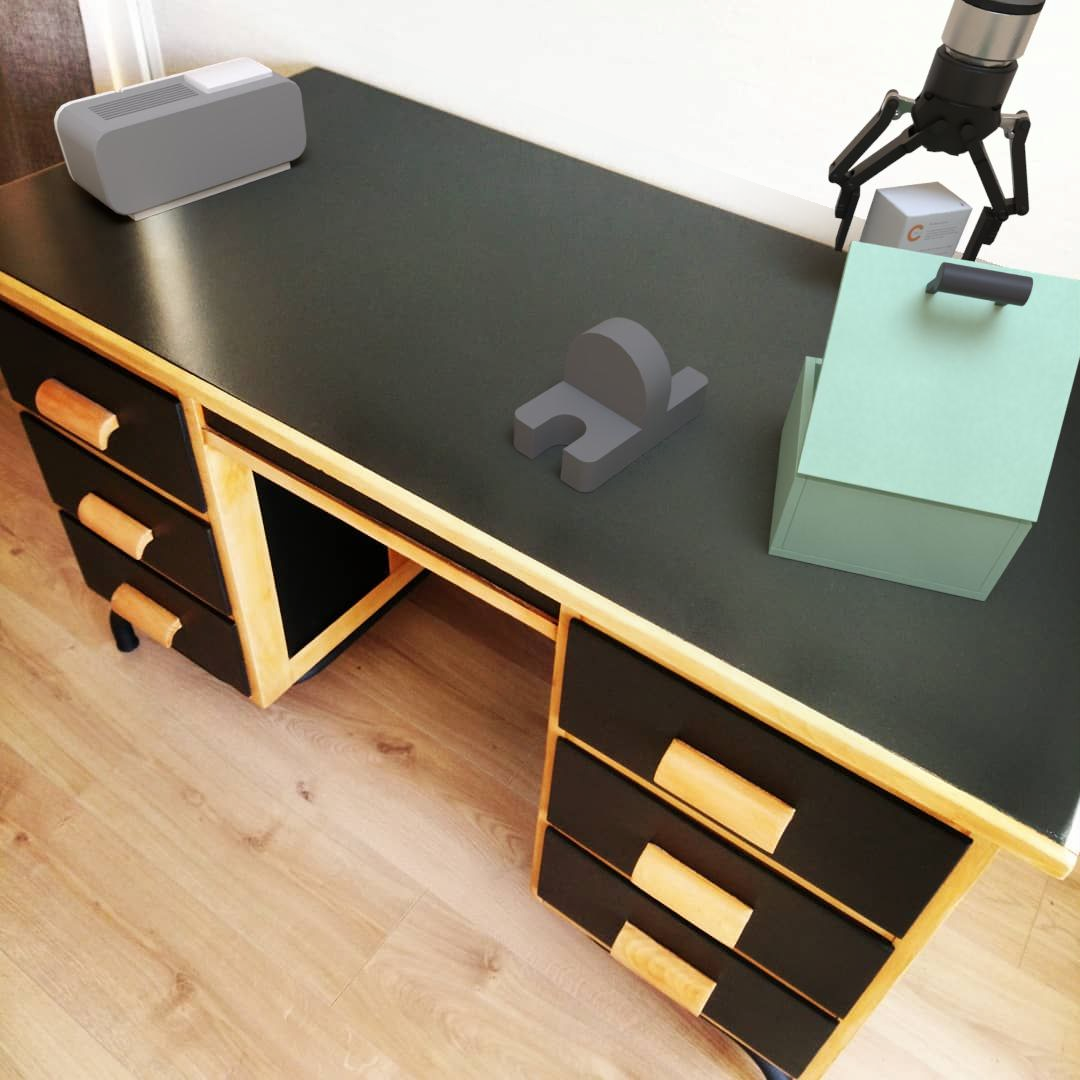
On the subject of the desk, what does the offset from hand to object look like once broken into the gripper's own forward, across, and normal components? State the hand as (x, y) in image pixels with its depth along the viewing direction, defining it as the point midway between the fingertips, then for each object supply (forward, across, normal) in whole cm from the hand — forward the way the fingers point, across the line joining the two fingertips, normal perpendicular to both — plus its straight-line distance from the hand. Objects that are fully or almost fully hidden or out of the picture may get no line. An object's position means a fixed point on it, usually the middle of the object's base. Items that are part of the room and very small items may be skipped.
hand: (900, 257), depth 103 cm
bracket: (+6, +26, +31) cm, 41 cm away
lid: (-10, +1, +37) cm, 39 cm away
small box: (+6, 0, 0) cm, 6 cm away
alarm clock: (+7, +85, 0) cm, 85 cm away
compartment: (+6, +1, +35) cm, 36 cm away
